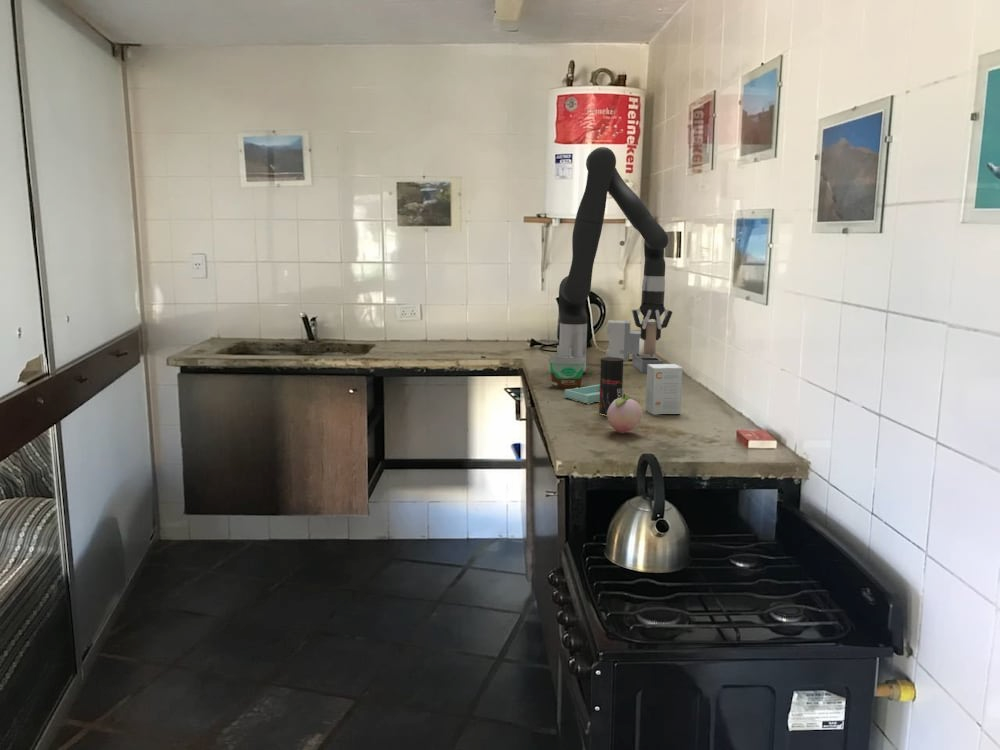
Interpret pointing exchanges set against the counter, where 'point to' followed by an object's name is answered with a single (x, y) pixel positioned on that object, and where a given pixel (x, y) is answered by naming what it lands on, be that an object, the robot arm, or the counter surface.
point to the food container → (566, 371)
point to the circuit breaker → (622, 340)
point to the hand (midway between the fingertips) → (650, 339)
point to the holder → (644, 359)
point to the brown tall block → (650, 338)
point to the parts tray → (585, 394)
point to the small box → (664, 388)
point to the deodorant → (610, 382)
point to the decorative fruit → (624, 414)
